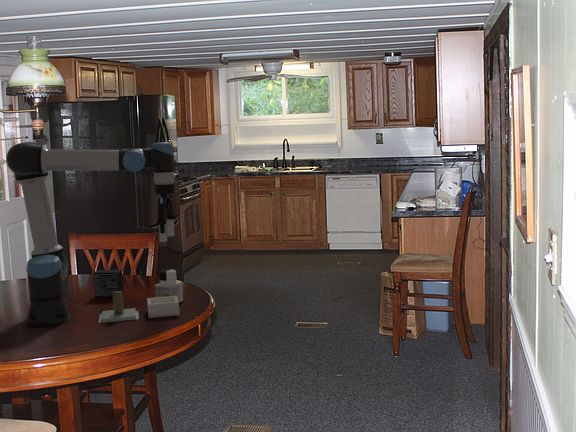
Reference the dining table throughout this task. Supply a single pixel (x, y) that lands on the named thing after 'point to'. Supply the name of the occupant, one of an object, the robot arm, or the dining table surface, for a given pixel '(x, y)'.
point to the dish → (163, 306)
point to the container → (168, 285)
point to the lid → (118, 310)
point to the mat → (123, 320)
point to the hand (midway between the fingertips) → (167, 239)
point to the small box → (107, 282)
